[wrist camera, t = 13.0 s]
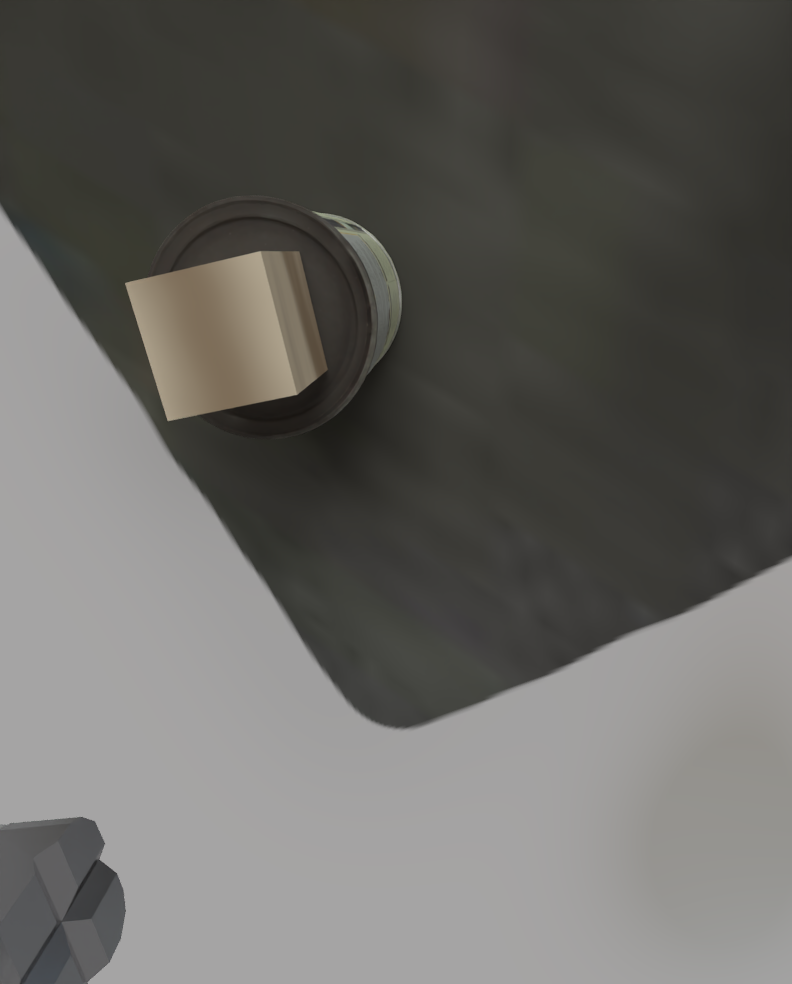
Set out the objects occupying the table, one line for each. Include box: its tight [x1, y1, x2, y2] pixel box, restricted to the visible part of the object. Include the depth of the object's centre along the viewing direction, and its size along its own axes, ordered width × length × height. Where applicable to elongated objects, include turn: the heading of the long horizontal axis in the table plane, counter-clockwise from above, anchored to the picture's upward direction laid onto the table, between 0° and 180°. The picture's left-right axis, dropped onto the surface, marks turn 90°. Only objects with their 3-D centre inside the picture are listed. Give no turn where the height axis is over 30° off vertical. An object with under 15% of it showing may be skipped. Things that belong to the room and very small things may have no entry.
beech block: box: [125, 251, 328, 421], centre depth 29 cm, size 5×5×6 cm
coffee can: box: [147, 196, 402, 439], centre depth 38 cm, size 10×10×14 cm
